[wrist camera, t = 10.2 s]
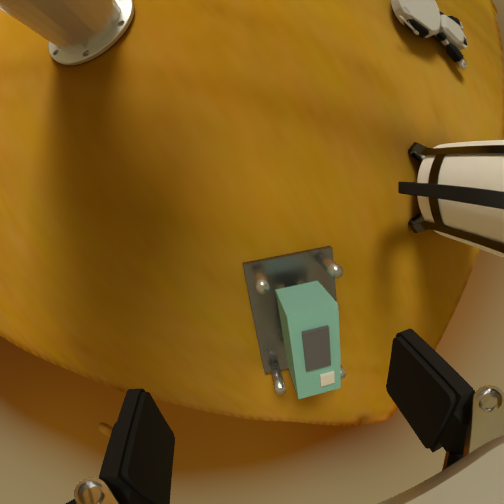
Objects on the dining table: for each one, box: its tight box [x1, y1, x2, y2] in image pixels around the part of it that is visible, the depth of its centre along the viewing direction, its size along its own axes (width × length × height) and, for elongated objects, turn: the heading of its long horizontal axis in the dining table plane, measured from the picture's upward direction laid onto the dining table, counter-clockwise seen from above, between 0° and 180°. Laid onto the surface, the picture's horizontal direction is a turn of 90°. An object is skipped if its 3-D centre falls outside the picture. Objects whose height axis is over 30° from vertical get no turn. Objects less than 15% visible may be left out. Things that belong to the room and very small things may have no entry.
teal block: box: [275, 280, 341, 399], centre depth 27 cm, size 10×4×6 cm, turn 10°
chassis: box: [243, 246, 346, 394], centre depth 30 cm, size 15×10×6 cm, turn 10°
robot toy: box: [391, 0, 467, 69], centre depth 23 cm, size 12×4×15 cm
